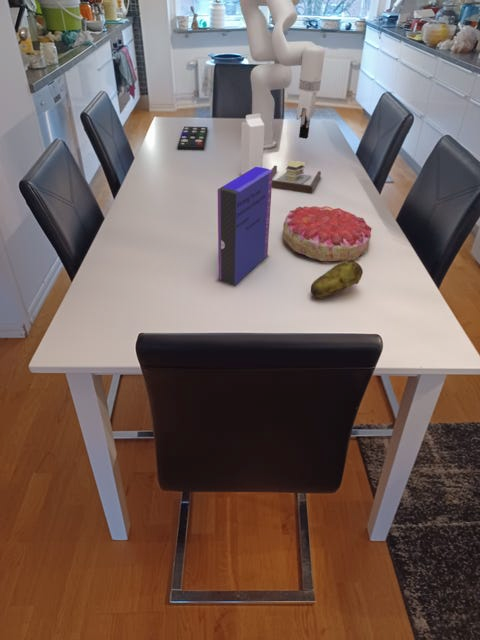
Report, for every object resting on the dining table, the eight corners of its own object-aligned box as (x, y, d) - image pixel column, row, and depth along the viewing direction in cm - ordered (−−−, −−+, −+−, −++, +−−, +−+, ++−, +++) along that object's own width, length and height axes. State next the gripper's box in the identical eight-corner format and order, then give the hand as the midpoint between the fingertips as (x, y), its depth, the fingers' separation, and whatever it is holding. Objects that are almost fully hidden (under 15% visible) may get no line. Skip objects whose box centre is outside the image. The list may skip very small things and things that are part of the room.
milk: (262, 177, 174) (265, 115, 161) (248, 180, 172) (250, 117, 158) (253, 172, 178) (256, 111, 165) (240, 174, 176) (241, 112, 163)
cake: (262, 238, 132) (266, 213, 127) (313, 216, 148) (318, 192, 143) (334, 276, 120) (341, 249, 115) (381, 246, 136) (389, 222, 131)
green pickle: (304, 284, 116) (307, 256, 111) (353, 282, 117) (359, 254, 112) (311, 303, 110) (315, 274, 105) (364, 301, 111) (370, 272, 106)
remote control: (177, 149, 198) (177, 145, 197) (184, 129, 222) (184, 125, 221) (203, 150, 198) (203, 145, 197) (207, 130, 222) (207, 125, 221)
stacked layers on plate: (299, 185, 169) (301, 170, 165) (277, 180, 172) (278, 165, 169) (310, 176, 176) (311, 162, 172) (288, 172, 179) (289, 157, 176)
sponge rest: (274, 171, 179) (274, 165, 178) (320, 178, 175) (321, 171, 173) (262, 186, 167) (263, 179, 166) (311, 193, 163) (312, 186, 161)
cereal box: (252, 251, 129) (255, 165, 114) (267, 256, 127) (272, 169, 112) (218, 280, 117) (217, 188, 102) (234, 285, 115) (236, 193, 100)
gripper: (304, 79, 172) (298, 130, 184) (294, 88, 161) (289, 142, 173) (323, 82, 171) (316, 133, 182) (315, 91, 160) (308, 145, 171)
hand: (303, 137), depth 177 cm, fingers closed
